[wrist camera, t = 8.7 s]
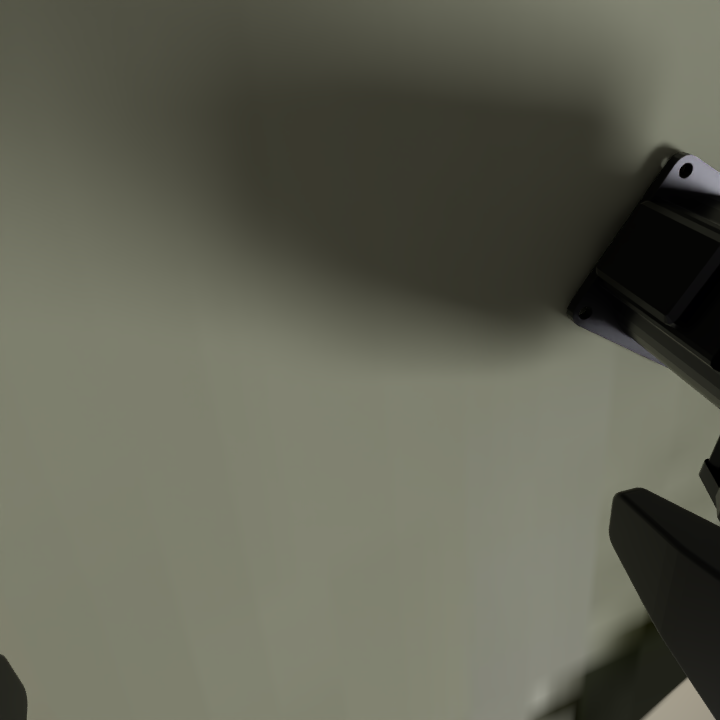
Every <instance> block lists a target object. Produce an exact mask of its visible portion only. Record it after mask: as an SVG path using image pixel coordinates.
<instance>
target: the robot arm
mask: <svg viewBox="0 0 720 720" xmlns="http://www.w3.org/2000/svg"><path fill="white" fill-rule="evenodd" d="M683 164H685V168H684V171H683V172H682V173H681V174H679V170H680V168H681V166H682V165H683ZM584 307H586V310H585V311H584V312H583V313H582V314H580V315H579V313H580V311H581V310H582V309H583V308H584ZM567 315H568V317H569V318H570V319H571V320H572V321H573V322H574V323H576V324H577V325H578V326H581V327H583V328H585V329H587V330H589V331H591V332H593V333H595V334H597V335H600V336H602V337H604V338H606V339H608V340H610V341H612V342H614V343H616V344H619V345H621V346H623V347H625V348H627V349H629V350H631V351H633V352H635V353H638V354H640V355H642V356H644V357H646V358H648V359H650V360H652V361H654V362H657V363H659V364H661V365H663V366H665V367H667V368H669V369H670V370H672V371H673V372H674V373H675V374H677V375H678V376H679V377H680V378H682V379H683V380H684V381H685V382H687V383H688V384H689V385H690V386H692V387H693V388H694V389H695V390H697V391H698V392H699V393H700V394H702V395H703V396H704V397H705V398H707V399H708V400H709V401H710V402H712V403H713V404H714V405H715V406H716V407H718V408H719V409H720V173H719V172H718V171H716V170H715V169H713V168H712V167H711V166H709V165H708V164H706V163H705V162H703V161H702V160H700V159H699V158H698V157H696V156H693V155H691V154H688V153H685V152H680V153H677V154H675V155H673V156H672V157H671V158H670V159H669V160H668V162H667V163H666V165H665V166H664V168H663V169H662V170H661V172H660V173H659V175H658V176H657V178H656V179H655V181H654V182H653V184H652V185H651V186H650V188H649V189H648V191H647V192H646V194H645V195H644V197H643V198H642V199H641V201H640V202H639V204H638V205H637V207H636V208H635V210H634V211H633V213H632V214H631V215H630V217H629V218H628V220H627V221H626V223H625V224H624V226H623V227H622V228H621V230H620V231H619V233H618V234H617V236H616V237H615V239H614V240H613V242H612V243H611V244H610V246H609V247H608V249H607V250H606V252H605V253H604V255H603V256H602V257H601V259H600V260H599V262H598V263H597V265H596V266H595V268H594V269H593V270H592V272H591V273H590V275H589V276H588V278H587V279H586V281H585V282H584V284H583V285H582V286H581V288H580V289H579V291H578V292H577V294H576V295H575V297H574V298H573V299H572V301H571V302H570V304H569V306H568V308H567ZM699 476H700V478H701V480H702V482H703V484H704V486H705V488H706V490H707V492H708V493H709V495H710V497H711V499H712V501H713V503H714V505H715V507H716V509H717V517H718V519H719V521H720V436H719V438H718V440H717V443H716V445H715V447H714V449H713V452H712V454H711V456H710V458H709V459H706V460H705V461H704V463H703V466H702V468H701V470H700V472H699ZM609 536H610V540H611V543H612V546H613V548H614V550H615V551H616V553H617V555H618V557H619V559H620V561H621V563H622V565H623V567H624V569H625V570H626V572H627V574H628V576H629V578H630V580H631V582H632V584H633V586H634V587H635V589H636V591H637V593H638V595H639V597H640V599H641V601H642V603H643V605H644V606H645V608H646V610H647V612H648V614H649V616H650V618H651V620H652V622H653V623H654V625H655V627H656V629H657V630H658V632H659V634H660V636H661V637H662V639H663V640H664V642H665V644H666V645H667V647H668V648H669V650H670V651H671V653H672V654H673V656H674V657H675V659H676V660H677V662H678V663H679V665H680V666H681V668H682V669H683V671H684V672H685V674H686V675H687V677H688V678H689V680H690V681H691V683H692V684H693V686H694V688H695V689H696V691H697V692H698V694H699V695H700V696H701V698H702V700H703V701H704V702H705V704H706V705H707V707H708V708H709V710H710V712H711V713H712V715H713V716H714V718H715V719H716V720H720V527H719V526H717V525H715V524H713V523H712V522H710V521H708V520H706V519H704V518H702V517H700V516H698V515H696V514H694V513H692V512H690V511H688V510H686V509H684V508H682V507H680V506H678V505H676V504H674V503H672V502H670V501H668V500H666V499H664V498H662V497H660V496H658V495H656V494H654V493H652V492H650V491H648V490H646V489H644V488H633V489H629V490H625V491H621V492H618V493H616V494H615V496H614V497H613V502H612V509H611V517H610V525H609ZM0 720H27V695H26V691H25V688H24V686H23V684H22V683H21V681H20V679H19V678H18V676H17V675H16V673H15V672H14V670H13V668H12V667H11V665H10V664H9V662H8V661H7V659H6V658H5V657H4V656H3V655H1V654H0Z"/></svg>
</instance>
